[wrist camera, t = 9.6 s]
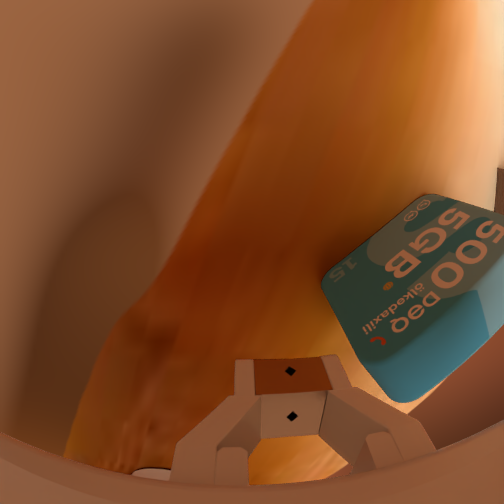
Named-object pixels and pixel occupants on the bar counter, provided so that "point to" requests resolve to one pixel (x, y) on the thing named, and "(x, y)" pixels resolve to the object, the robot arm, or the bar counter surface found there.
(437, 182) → the bar counter surface
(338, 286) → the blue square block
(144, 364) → the bar counter surface
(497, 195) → the bookend
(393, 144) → the bar counter surface
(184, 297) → the bar counter surface
